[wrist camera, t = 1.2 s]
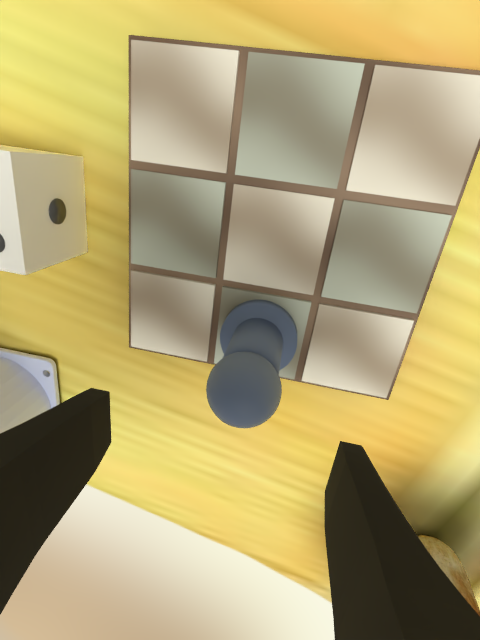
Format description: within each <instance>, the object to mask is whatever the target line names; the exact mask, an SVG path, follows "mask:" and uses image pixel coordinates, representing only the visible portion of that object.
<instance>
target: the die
mask: <svg viewBox="0 0 480 640" xmlns="http://www.w3.org/2000/svg"><path fill="white" fill-rule="evenodd" d="M87 252H88V242H87V222H86V202H85V182H84V162H83V156H76V155H69V154H62V153H55V152H48V151H41V150H34V149H27V148H20V147H13V146H6V145H0V270H1V271H6V272H11V273H17V274H22V275H27V274H30V273H33V272H36V271H38V270H41V269H44V268H46V267H49V266H52V265H55V264H57V263H60V262H63V261H66V260H68V259H71V258H74V257H76V256H79V255H82V254H85V253H87Z"/></svg>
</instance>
